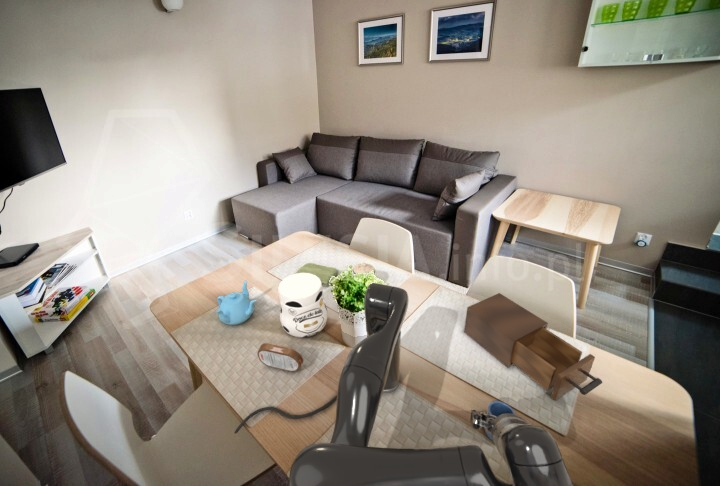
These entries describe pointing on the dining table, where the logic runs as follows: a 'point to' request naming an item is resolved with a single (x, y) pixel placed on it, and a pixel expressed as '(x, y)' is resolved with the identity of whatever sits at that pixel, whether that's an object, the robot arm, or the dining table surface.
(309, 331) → the milk container
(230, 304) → the teapot
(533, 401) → the dining table surface
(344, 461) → the robot arm
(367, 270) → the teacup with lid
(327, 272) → the washcloth
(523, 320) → the wooden storage box
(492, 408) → the cup
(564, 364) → the drawer
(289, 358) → the tin
